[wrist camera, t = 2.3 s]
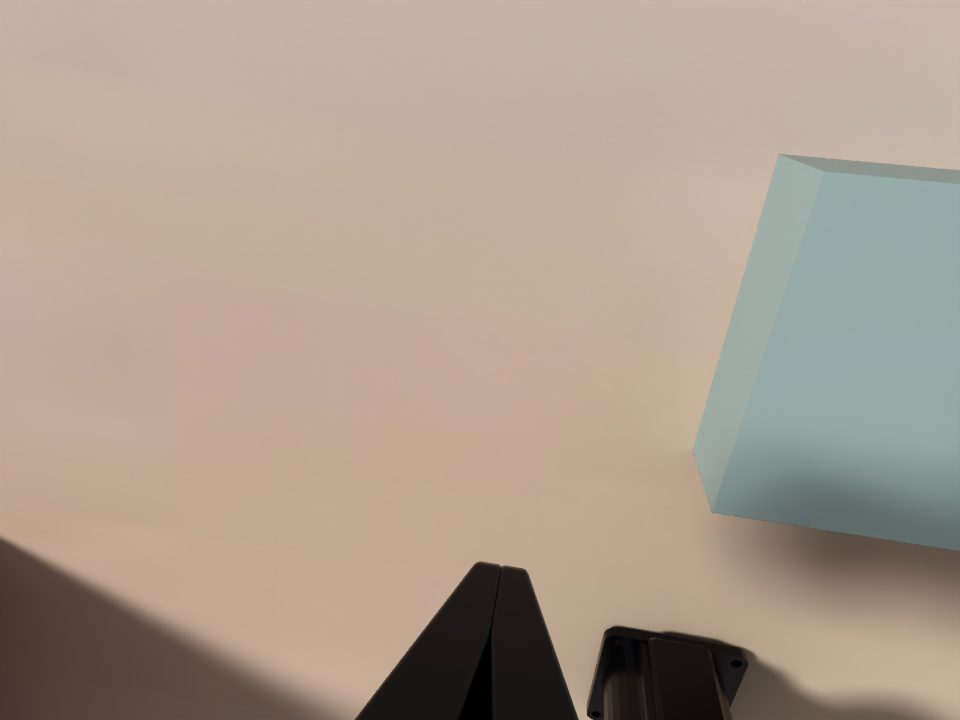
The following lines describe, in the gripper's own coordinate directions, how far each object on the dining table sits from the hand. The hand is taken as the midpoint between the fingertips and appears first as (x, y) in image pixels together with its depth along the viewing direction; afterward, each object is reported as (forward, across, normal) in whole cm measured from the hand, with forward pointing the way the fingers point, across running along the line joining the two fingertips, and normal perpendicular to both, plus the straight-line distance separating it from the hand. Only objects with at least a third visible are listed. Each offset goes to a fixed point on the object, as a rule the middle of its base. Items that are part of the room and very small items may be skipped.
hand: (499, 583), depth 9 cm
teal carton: (+13, -11, 0) cm, 17 cm away
